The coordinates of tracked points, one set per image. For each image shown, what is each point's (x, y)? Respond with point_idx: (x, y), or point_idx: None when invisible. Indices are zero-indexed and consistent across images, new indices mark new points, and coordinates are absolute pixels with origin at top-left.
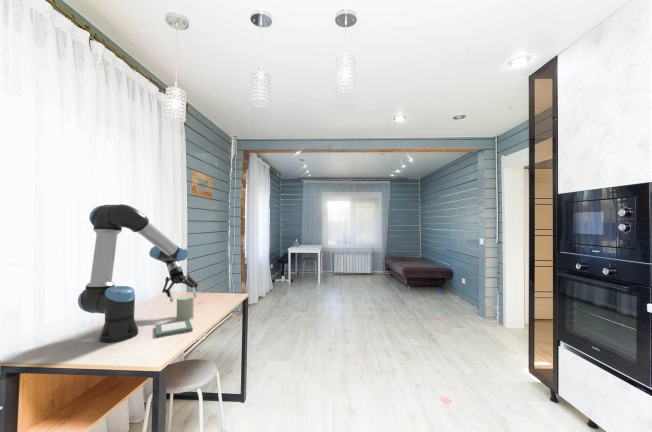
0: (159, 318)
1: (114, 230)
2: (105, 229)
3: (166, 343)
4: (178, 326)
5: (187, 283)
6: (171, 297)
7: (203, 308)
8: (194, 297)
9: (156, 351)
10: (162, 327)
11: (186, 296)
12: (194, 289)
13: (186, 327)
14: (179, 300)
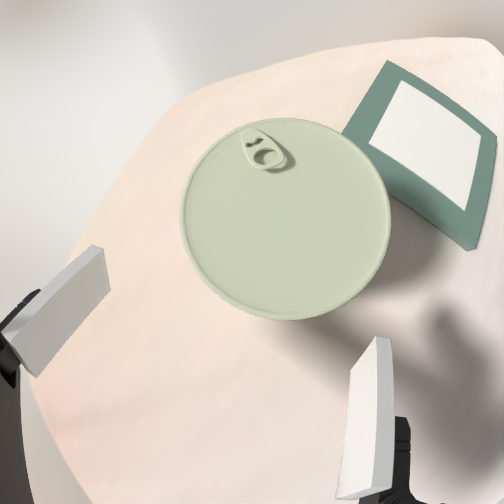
0: None
1: None
2: None
3: (473, 80)
4: (421, 114)
5: (5, 453)
6: (392, 367)
7: None
8: (107, 291)
9: (494, 75)
10: (470, 171)
11: (220, 267)
12: (38, 301)
13: (401, 81)
14: (384, 193)
